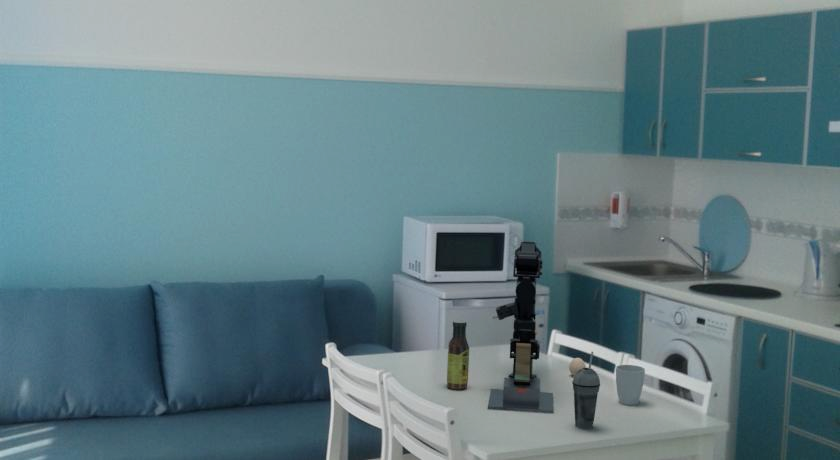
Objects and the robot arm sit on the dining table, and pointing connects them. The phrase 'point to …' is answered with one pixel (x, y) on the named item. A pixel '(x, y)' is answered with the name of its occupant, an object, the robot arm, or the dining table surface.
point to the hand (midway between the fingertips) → (523, 347)
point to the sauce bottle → (458, 357)
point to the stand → (521, 397)
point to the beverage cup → (585, 396)
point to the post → (522, 362)
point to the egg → (576, 365)
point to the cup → (629, 383)
